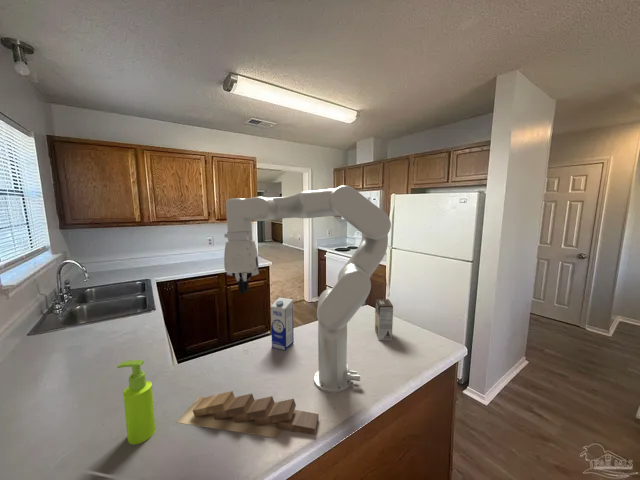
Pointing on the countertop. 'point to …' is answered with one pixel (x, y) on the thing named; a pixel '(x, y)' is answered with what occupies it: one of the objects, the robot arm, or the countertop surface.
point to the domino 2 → (236, 407)
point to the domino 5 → (300, 422)
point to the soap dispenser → (138, 404)
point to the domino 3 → (256, 410)
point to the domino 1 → (213, 404)
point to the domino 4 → (278, 412)
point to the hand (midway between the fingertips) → (243, 292)
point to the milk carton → (282, 323)
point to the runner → (228, 423)
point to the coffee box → (383, 319)
